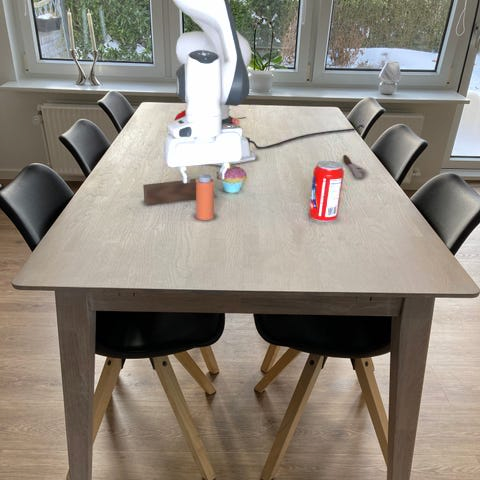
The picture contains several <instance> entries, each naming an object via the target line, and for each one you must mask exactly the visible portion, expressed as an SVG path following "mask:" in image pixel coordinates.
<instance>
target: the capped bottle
mask: <svg viewBox="0 0 480 480" xmlns="http://www.w3.org/2000/svg"><path fill="white" fill-rule="evenodd" d="M195 179H196V199H195V217H196V218H197V219H198V220H201V221H207V220H212V219H214V217H215V180H214V179H213V178H212V175H211V174H208V173H201V174H198V178H195Z"/></svg>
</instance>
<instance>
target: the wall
mask: <svg viewBox="0 0 480 480" xmlns="http://www.w3.org/2000/svg"><path fill="white" fill-rule="evenodd" d="M196 179H197V178H190V183H184V182H183V179H182V180H181V179H180V180H173V181H165V182H155V183H146V184H143V185H142V186H143V201H144V203H145V204H146V206H154V205H161V204H169V203H177V202H186V201H193V200H196Z"/></svg>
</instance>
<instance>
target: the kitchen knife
mask: <svg viewBox="0 0 480 480" xmlns="http://www.w3.org/2000/svg"><path fill="white" fill-rule="evenodd" d="M342 158H343V162H344V163H345V165H346V166H348V167H349V170H350V171H351V173H352V175H353V176H354V178H355V179H362V178H364V177H365V172H364V170H363V168H362V167H360V166H359V165H357V164H355V163H352V161H351V158H350V157H349V156H348V155H347V154H344V155H342Z"/></svg>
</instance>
